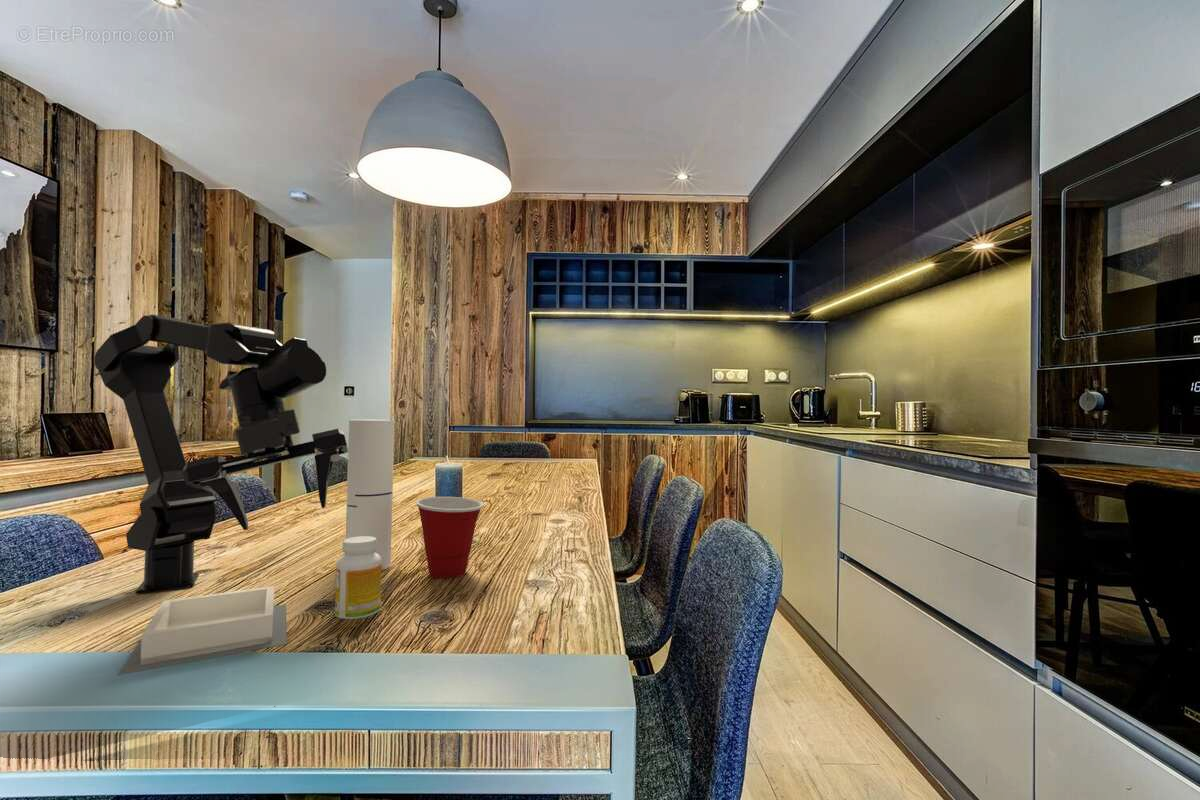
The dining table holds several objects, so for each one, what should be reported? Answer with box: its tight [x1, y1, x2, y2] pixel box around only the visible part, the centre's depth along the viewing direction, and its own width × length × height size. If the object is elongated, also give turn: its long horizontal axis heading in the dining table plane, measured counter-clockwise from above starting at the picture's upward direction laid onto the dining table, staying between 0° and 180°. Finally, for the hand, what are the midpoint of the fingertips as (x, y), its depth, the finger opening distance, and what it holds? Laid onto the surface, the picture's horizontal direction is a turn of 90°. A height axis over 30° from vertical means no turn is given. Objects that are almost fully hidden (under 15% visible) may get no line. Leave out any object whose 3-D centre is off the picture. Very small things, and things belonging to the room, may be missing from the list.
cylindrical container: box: [345, 419, 395, 571], centre depth 89 cm, size 7×7×25 cm
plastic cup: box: [416, 496, 485, 579], centre depth 86 cm, size 11×11×12 cm
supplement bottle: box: [334, 536, 382, 620], centre depth 68 cm, size 5×5×10 cm
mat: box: [117, 604, 288, 676], centre depth 60 cm, size 14×14×1 cm
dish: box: [141, 585, 275, 665], centre depth 60 cm, size 11×11×3 cm
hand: (286, 518), depth 71 cm, fingers open, 9 cm apart
